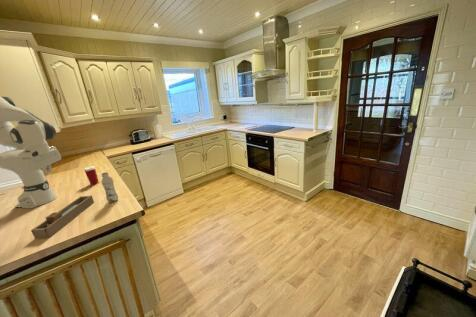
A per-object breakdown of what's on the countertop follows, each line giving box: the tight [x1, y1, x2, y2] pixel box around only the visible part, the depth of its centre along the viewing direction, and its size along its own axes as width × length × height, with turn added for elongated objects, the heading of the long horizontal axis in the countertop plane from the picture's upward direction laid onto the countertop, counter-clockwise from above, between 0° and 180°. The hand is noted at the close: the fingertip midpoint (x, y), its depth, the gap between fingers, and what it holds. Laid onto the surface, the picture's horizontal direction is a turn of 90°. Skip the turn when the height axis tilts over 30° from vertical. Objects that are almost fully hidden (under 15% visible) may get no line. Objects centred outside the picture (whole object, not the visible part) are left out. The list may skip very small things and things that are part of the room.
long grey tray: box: [30, 195, 95, 240], centre depth 118 cm, size 8×34×5 cm, turn 0°
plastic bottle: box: [100, 172, 119, 203], centre depth 131 cm, size 6×7×20 cm
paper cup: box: [83, 165, 100, 186], centre depth 164 cm, size 8×8×14 cm
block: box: [45, 211, 62, 225], centre depth 110 cm, size 4×4×4 cm
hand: (47, 173), depth 115 cm, fingers closed
